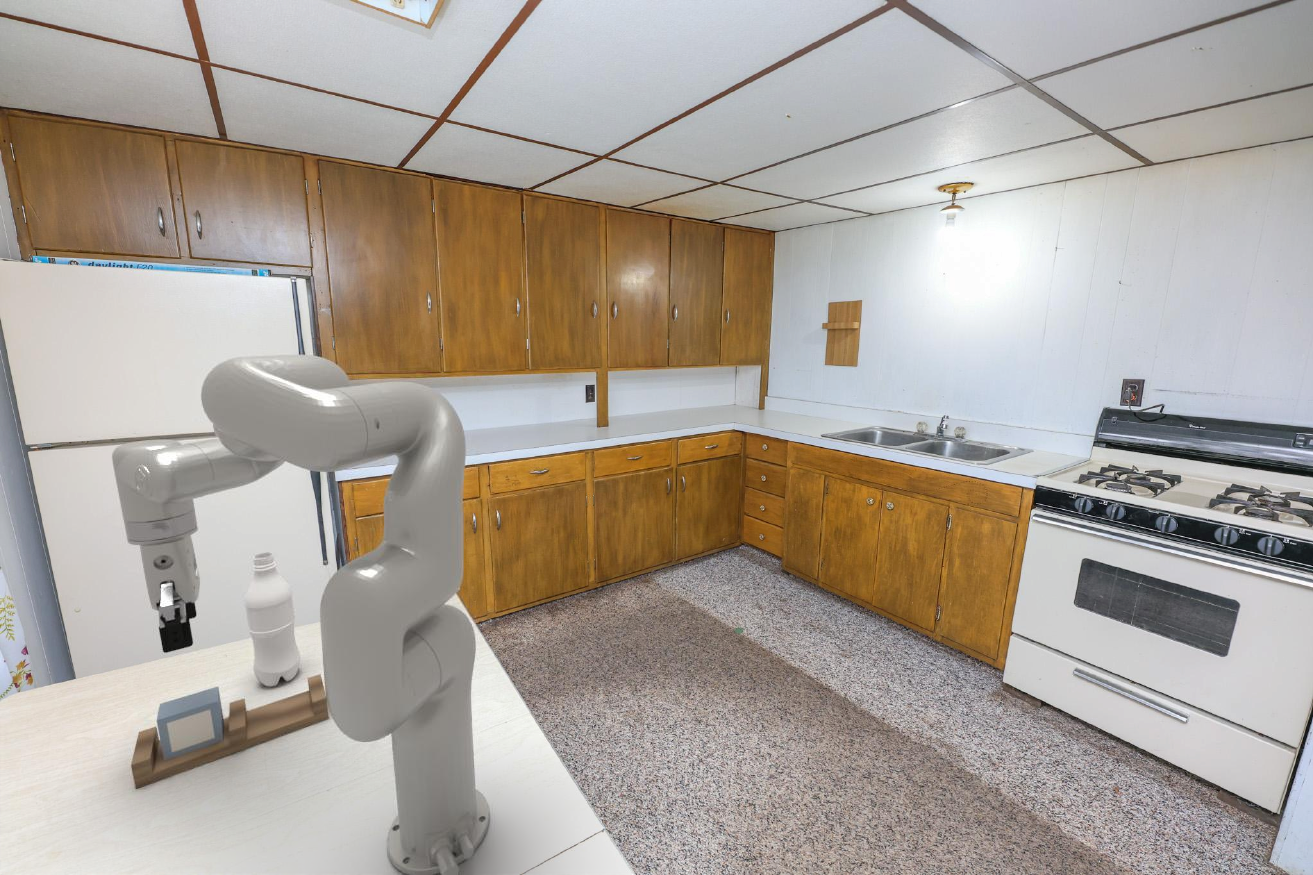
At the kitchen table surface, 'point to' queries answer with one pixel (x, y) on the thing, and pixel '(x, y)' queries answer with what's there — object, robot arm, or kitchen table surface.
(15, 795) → the kitchen table surface
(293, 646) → the water bottle
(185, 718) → the blue-grey rectangular block
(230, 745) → the wooden divided rack
